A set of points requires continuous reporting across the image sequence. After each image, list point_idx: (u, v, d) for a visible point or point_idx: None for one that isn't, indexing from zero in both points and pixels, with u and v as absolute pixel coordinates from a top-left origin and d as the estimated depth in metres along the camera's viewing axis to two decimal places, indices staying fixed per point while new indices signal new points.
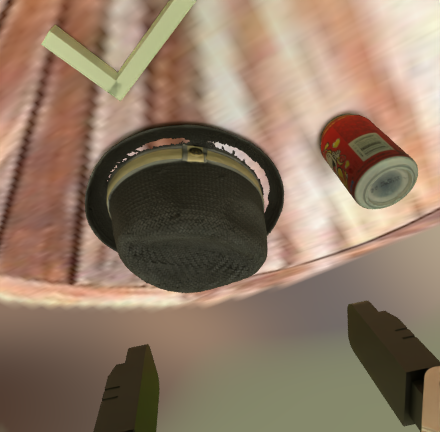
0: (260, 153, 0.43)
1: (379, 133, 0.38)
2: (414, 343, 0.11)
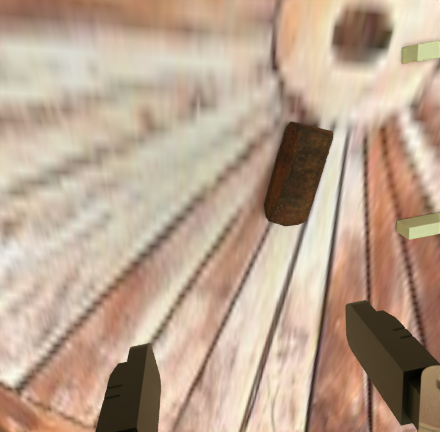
0: None
1: None
2: (411, 343, 0.11)
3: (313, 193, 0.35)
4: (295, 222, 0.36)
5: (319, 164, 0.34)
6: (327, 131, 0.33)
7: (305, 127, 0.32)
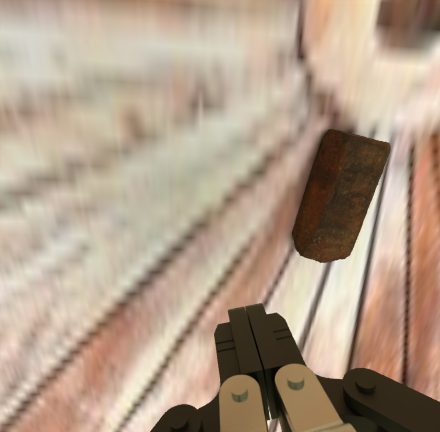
0: None
1: None
2: (289, 343, 0.12)
3: (360, 222, 0.27)
4: (335, 258, 0.28)
5: (370, 186, 0.26)
6: (383, 143, 0.25)
7: (355, 138, 0.24)
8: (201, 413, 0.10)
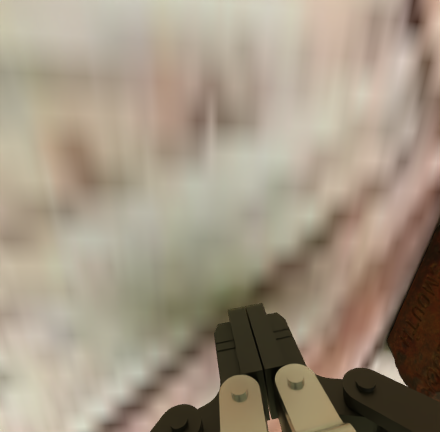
0: None
1: None
2: (288, 343, 0.12)
3: None
4: None
5: None
6: None
7: None
8: (201, 414, 0.10)
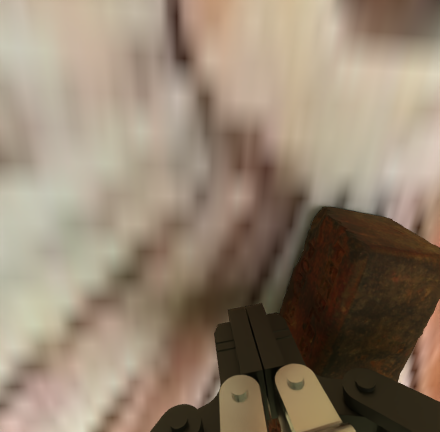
0: None
1: None
2: (288, 343, 0.12)
3: None
4: None
5: (407, 338, 0.12)
6: (437, 258, 0.12)
7: (377, 251, 0.11)
8: (201, 413, 0.10)
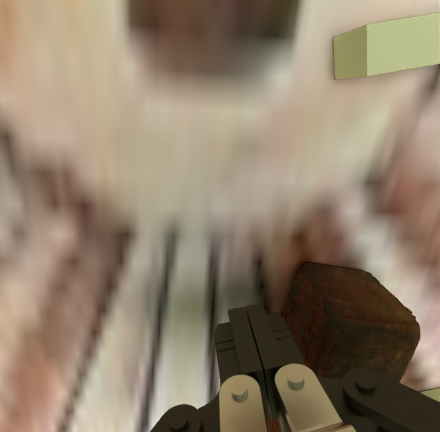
0: None
1: None
2: (289, 343, 0.12)
3: None
4: None
5: None
6: (406, 326, 0.12)
7: (349, 322, 0.12)
8: (201, 413, 0.10)
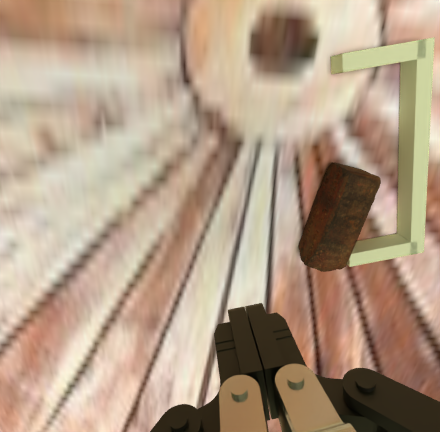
0: None
1: None
2: (288, 343, 0.12)
3: (355, 239, 0.33)
4: (334, 268, 0.34)
5: (364, 211, 0.32)
6: (375, 177, 0.31)
7: (352, 173, 0.31)
8: (201, 413, 0.10)
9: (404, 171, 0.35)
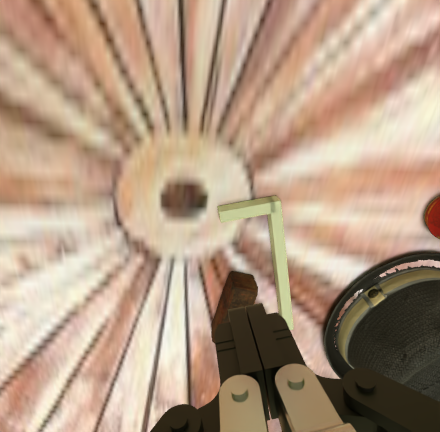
0: (415, 256, 0.51)
1: None
2: (289, 343, 0.12)
3: None
4: None
5: None
6: (253, 290, 0.46)
7: (237, 287, 0.46)
8: (201, 413, 0.10)
9: (275, 276, 0.50)
